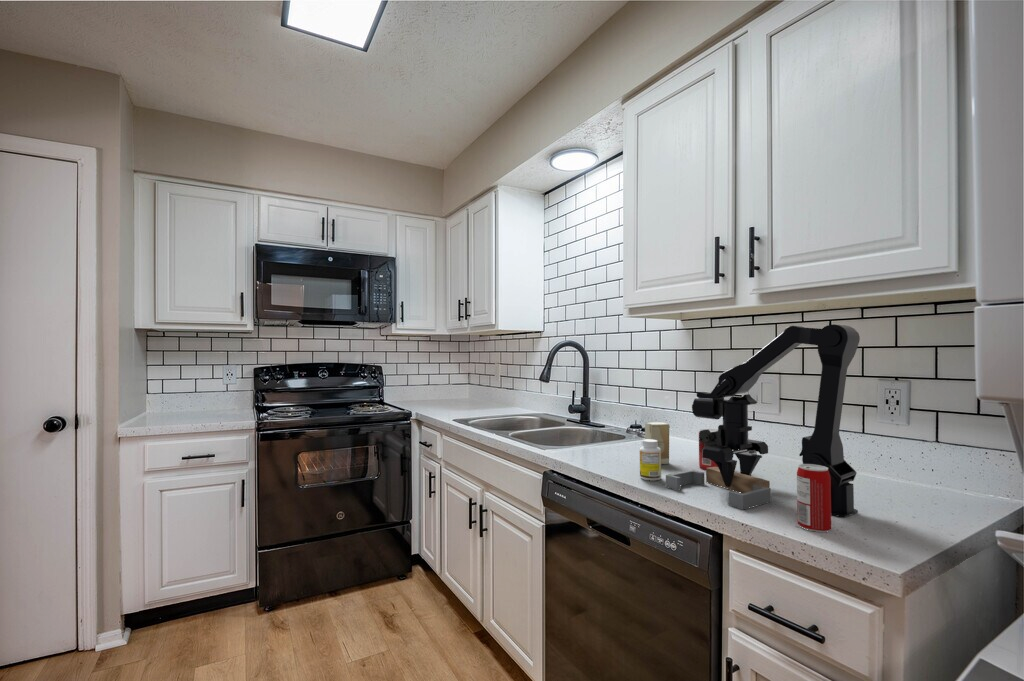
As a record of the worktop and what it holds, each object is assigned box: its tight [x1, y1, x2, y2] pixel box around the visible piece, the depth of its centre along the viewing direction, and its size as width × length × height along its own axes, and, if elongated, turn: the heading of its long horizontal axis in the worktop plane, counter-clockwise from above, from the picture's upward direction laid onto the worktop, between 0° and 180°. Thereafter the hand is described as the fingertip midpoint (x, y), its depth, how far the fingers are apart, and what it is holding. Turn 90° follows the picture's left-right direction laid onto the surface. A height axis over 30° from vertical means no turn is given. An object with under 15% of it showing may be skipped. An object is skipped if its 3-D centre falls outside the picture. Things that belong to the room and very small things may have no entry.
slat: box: [705, 467, 771, 493], centre depth 122 cm, size 16×4×4 cm, turn 24°
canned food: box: [698, 428, 724, 471], centre depth 143 cm, size 8×8×11 cm
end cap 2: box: [727, 485, 772, 510], centre depth 110 cm, size 4×10×3 cm, turn 122°
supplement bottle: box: [639, 438, 662, 482], centre depth 132 cm, size 6×6×10 cm
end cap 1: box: [665, 469, 706, 491], centre depth 125 cm, size 4×10×3 cm, turn 122°
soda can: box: [796, 463, 832, 533], centre depth 95 cm, size 6×6×12 cm
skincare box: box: [644, 421, 670, 465], centre depth 151 cm, size 6×4×12 cm
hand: (736, 484), depth 122 cm, fingers open, 6 cm apart
